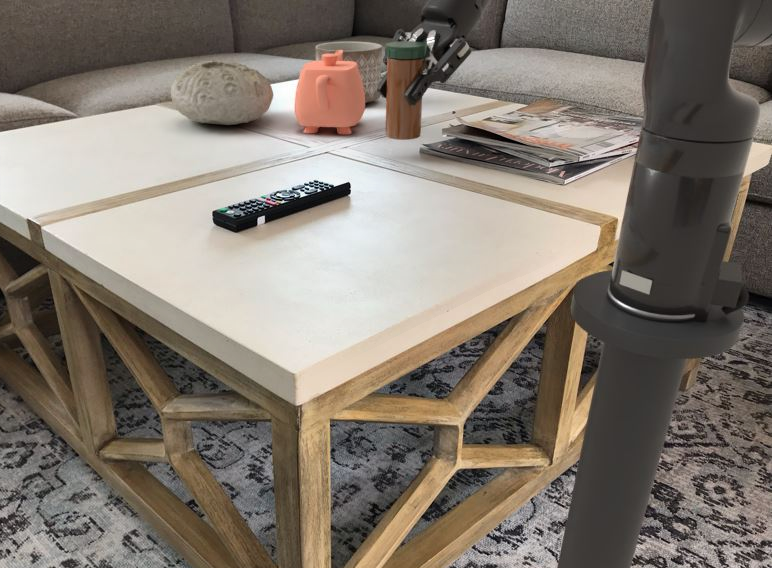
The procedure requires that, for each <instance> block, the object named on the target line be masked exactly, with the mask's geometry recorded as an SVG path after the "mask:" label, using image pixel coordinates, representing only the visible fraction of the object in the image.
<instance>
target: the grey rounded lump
mask: <svg viewBox="0 0 772 568" xmlns="http://www.w3.org/2000/svg"><path fill="white" fill-rule="evenodd" d="M169 91H170V98H171V99H170V100H171V102H172V104H173V106H174V108H175V109H176V110H177V111H178V113H180V114H181V115H182V116H184V117H186V118H187V119H188V120H191V121H192V122H198V123H203V124H208V125H221V126H232V125H234V126H235V125H239V124H245V123H246V124H247V123H250V122H253V121H256V120H258V119H259V118H261V117H262V116H263V115H264V114H265V113H267V112H268V110H270V107H271V104H272V102H273V99H274V91H273V88H272V85H271V82H270V79H269V78H266V77H265V76H264V75H263V74H262V73H260V71H258V69H254V68H251V67H248V66H246V64H241V63H239V62H235V61H231V60H229V61H217V60H213V59H211V60H210V61H208V60H206V61H205V60H204V61H201V62H197V63H196V64H193V65H190V66H188V67H186V68H185V69H184V70H183V71H181V72H180V73H179V74H176V75H175V79H174V82H173V83H172V85H171V87H170V90H169Z"/></svg>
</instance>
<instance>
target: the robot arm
mask: <svg viewBox="0 0 772 568" xmlns="http://www.w3.org/2000/svg"><path fill="white" fill-rule="evenodd" d="M491 1H492V0H427V2H426V3H425V5H424V6H423V7H422V9H421V19H420V22H419V24H418V25H417V26H416V27H414V28H413V29H412V30H411V31H410V32H405V31H404V29H403V28H399V29H397V30H396V31H395V33H394V36H393V38H392V39H391V42H398V41H415V42H423V43H426V44H427V52H426V56H425V57H423V58H424V62H423V65H422V69H421V75H419V74H418V75H417V76H416V78H415V79H414V81H413V82H412V84H411V85H410V87H409V88H408V90H407V91H406V93H405V95H404V98H405V99H406V101H407V102H408V103H409V104H410V105H416V103H417V102H418V101H419V100H420V99H421V98H422V99H423V97H422V96H424V95H425V93H426V92H427V90H428V89H429V88H430V86H432V85H434V84H435V83H436V82H439V83H440V84H444V83H447V81H448V80H449V79H450V78H451V77H452V75H453V74H454V73H455V72H456V71H457V70H458V68H459V67H460V66H461V65H462V64H463V63H464V62H465V61H466V60H467V58H469V56H470V55H471V54H472V49H471V47H470V45H469V44H468V42H467V41H466V39H467V38H468V36H469V35H470V33H471V32H472V30H473V29H474V27H475V26H476V25H477V23H478V21H480V18H481V17H482V15H483V14H484V12H486V11H485V10H486V9H487V8H488V6H489V5H490V3H491ZM648 28H649V29H648V36H647V42H646V50H645V52H646V53H645V57H644V65H643V71H642V76H641V95H642V96H641V97H642V102H643V115H642V119H641V120H642V122H641V127H640V131H639V135H638V141H637V147H636V152H635V157H634V162H633V166H632V172H631V177H630V182H629V186H628V191H627V196H626V201H625V206H624V211H623V216H622V220H621V226H620V230H619V235H618V241H617V245H616V252H615V255H614V260H613V266H612V269H611V270H612V274H611V278H610V284H609V286H608V290H607V298H608V300H609V301H610V303H612V304H613V305H614V306H615V307H617V308H618V309H620V310H621V311H623V312H626V313H628V314H630V315H633V316H636V317H639V318H643V319H647V320H652V321H658V322H668V323H680V322H689V321H698V322H706V321H707V317H708V314H709V310H710V306H711V304H712V305H718V306H724V307H722V308H721V309H722V311H723V312H724V313H725V314H726V315H727V314H729V313H731V312H734V311H736V310H738V309H740V308H741V309H743V307H745V306H746V305H747V303H748V301H749V298H750V295H749V291H748V290H747V289H746V286H745V285H744V284H743V276H742V268H741V262H740V263H739V262H732V261H725V260H724V259H725V256H726V253H727V248H728V246H729V241H730V239H731V235H732V230H733V229H732V218H733V215H734V211H735V207H736V204H737V201H738V197H739V192H740V189H741V186H742V182H743V178H744V175H745V171H746V167H747V163H748V160H749V156H750V154H751V153H750V152H751V149H752V145H753V142H754V138H755V134H756V131H757V127H758V124H759V120H760V117H761V104H760V103H759V101H758V100H757V99H756V98H754V97H753V96H752V95H749V94H747V93H744V92H741V91H739V90H736V88H734V86H733V85H732V84H731V82H730V67H731V61H732V54H733V50H739V49H750V48H759V47H765V46H770V45H772V0H653V1H652V8H651V14H650V21H649V27H648ZM382 63H383V65H385V66H386V67H387V57H386V56H385V55H383V58H382ZM447 64H448V66H447ZM446 66H447V68H445V67H446ZM443 69H445V70H443ZM386 91H387V71H386V72H385V74H383V76H382V77H381V82H380V83H379V84H378V87H377V92H378V93H379V94H380V98H382V99H386Z"/></svg>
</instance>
